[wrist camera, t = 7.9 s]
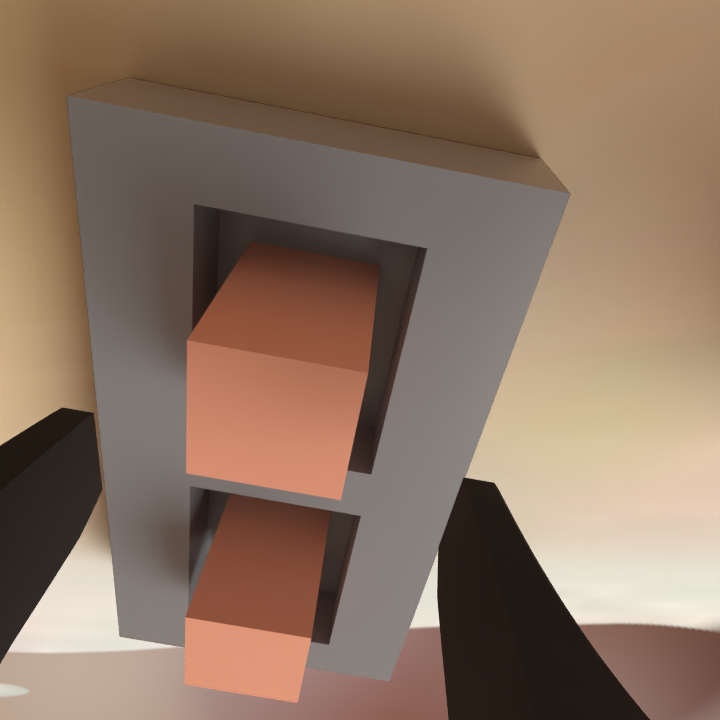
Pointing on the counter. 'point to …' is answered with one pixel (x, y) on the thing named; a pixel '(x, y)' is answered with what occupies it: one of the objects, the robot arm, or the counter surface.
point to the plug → (281, 371)
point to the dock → (382, 390)
